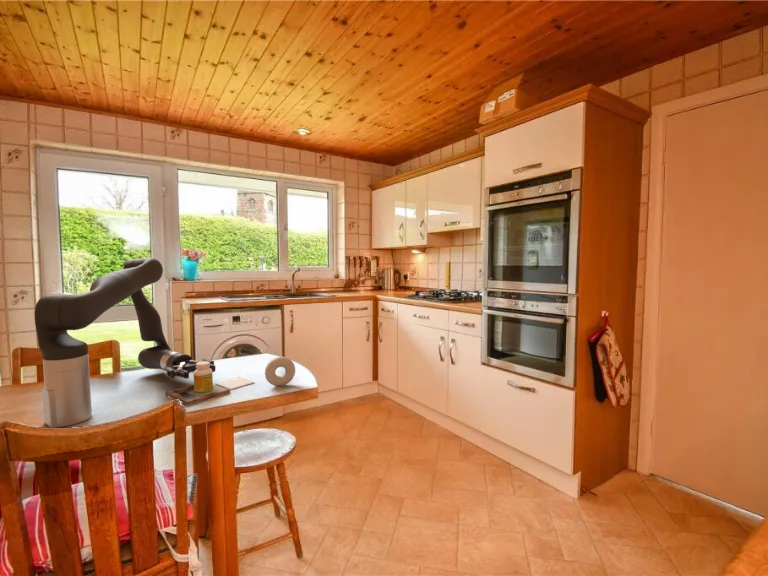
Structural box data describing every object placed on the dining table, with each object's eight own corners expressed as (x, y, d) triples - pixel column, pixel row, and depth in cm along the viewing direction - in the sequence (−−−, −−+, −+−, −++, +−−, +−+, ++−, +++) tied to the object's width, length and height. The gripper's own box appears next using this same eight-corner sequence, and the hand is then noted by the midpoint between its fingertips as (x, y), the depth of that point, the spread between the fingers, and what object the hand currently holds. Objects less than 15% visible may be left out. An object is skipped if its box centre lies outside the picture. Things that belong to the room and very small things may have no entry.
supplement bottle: (205, 396, 120) (204, 365, 119) (190, 395, 121) (189, 364, 120) (216, 390, 125) (215, 361, 124) (201, 389, 126) (200, 360, 125)
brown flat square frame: (187, 406, 112) (187, 401, 112) (165, 395, 120) (165, 391, 120) (230, 392, 123) (230, 389, 123) (207, 384, 131) (207, 380, 131)
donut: (266, 389, 126) (265, 359, 125) (264, 386, 129) (263, 357, 128) (296, 385, 130) (296, 356, 129) (294, 382, 133) (293, 354, 132)
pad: (230, 390, 125) (230, 388, 125) (215, 384, 131) (215, 383, 131) (254, 383, 132) (254, 381, 132) (239, 377, 138) (239, 376, 138)
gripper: (154, 357, 127) (177, 365, 117) (196, 348, 138) (221, 355, 128) (155, 379, 127) (178, 389, 117) (197, 369, 138) (222, 378, 129)
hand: (201, 372), depth 123 cm, fingers open, 8 cm apart
